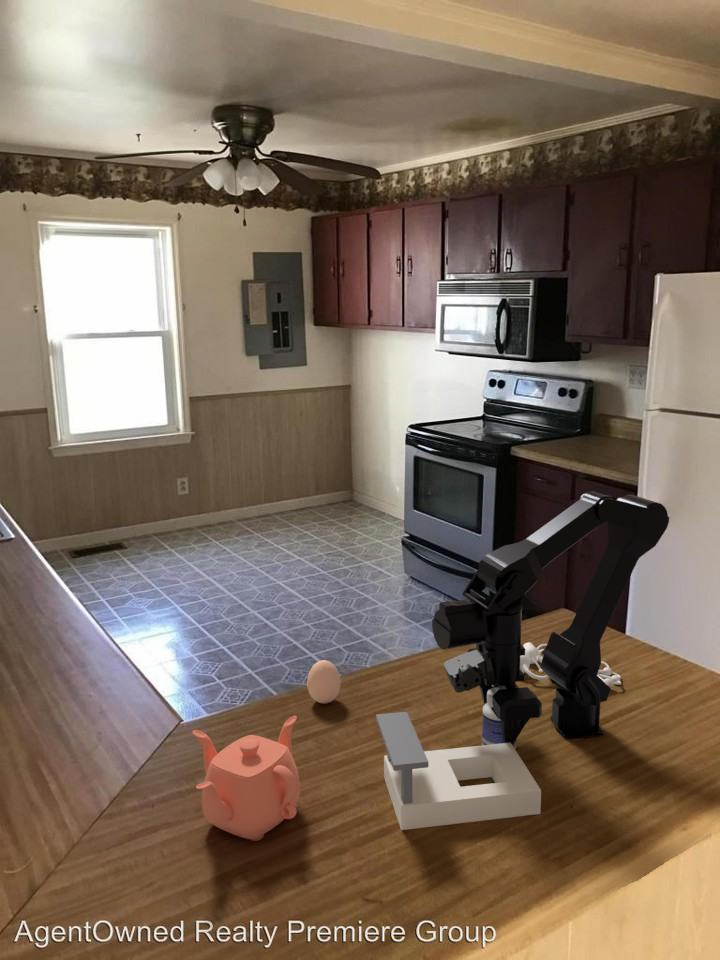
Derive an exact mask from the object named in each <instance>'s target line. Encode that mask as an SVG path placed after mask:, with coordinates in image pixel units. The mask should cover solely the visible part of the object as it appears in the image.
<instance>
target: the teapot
mask: <svg viewBox="0 0 720 960" xmlns="http://www.w3.org/2000/svg"><path fill="white" fill-rule="evenodd" d="M297 719H298V717H297V715H293V716H290V717H289V718H288V719H287V720H285V722H284V723H283V725H282V727H281V731H280V732H279V736H278V740H277V741H275V740H272V739H269V738H267V737H263V736H260V735H257V734H256V735H255V734H249V735H246V736H243V737H241V738H239V739H236V740H235V741H234V742H231V743H230V744H228V745H227V746H226V747H224V748H223V749H222V750H220V751H219V752H217V750H216V747H215V746H214V744H213V742H212V740H211V737H209V736H208V735H207V734H206V733H205V732H203V731H201V730H198V729H195V730H192V735H194V737H195V738H196V739H197V740H198V742H199V744H200V747H201V749H202V757H203V765H204V766H203V767H204V770H205V771H204V772H205V774H206V775H205V779H204V781H203V782H202V781H201V782H199V783H198V784H197V785H196V786H195V789H198V790H202V797H201V810H202V814H203V815H204V817H205V818H206V820H207V822H209V823H210V825H213V826H215V827H216V828H218V829H220V830H223V831H225V832H227V833H229V834H231V835H233V836H237V837H240V838H244V839H247V840H250V841H252V842H256V841H257V842H258V841H260V840H262V839H263V838H264V836H265V834H266V833H268V832H269V831H271V830H273V829H274V828H276V827H277V826H278V825H280V824H281V822H283V821H284V820H285V819H286V820H291V819H293V818H295V817H296V815H297V808H296V805H297V802H298V800H299V798H300V795H301V783H300V776H299V772H298V768H297V765H296V761H295V760H294V757H293V746H292V745H293V744H292V731H293V728H294V726H295V723H296V721H297Z"/></svg>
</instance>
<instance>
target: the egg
mask: <svg viewBox="0 0 720 960" xmlns="http://www.w3.org/2000/svg"><path fill="white" fill-rule="evenodd" d="M341 682H342V681H341V676H340V673H339V671H338V669H337V667H336V666H335V665H334V663H332V662H331V661H329V660H327V659H323V660H319V661H317V662H316V663H314V664H313V665H312V667H311V669H310V670H309V673H308V676H307V683H306V684H307V685H306V686H307V691H308V694H309V696H310V697H311V698H312V699H313V700H314V701H315V702H317V703H319V704H328V703H331V702H332V701H334V700H335V699H336V698H337V697H338V695H339V692H340V691H341V686H342V685H341V684H342V683H341Z"/></svg>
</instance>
